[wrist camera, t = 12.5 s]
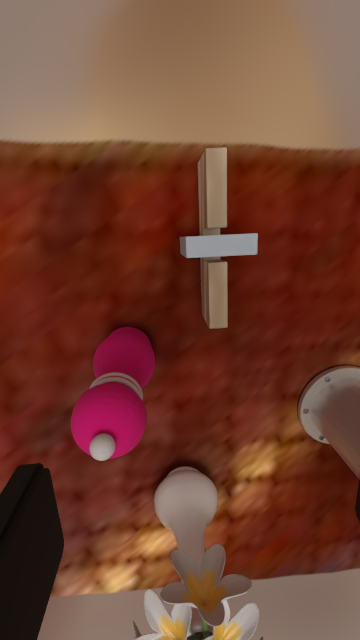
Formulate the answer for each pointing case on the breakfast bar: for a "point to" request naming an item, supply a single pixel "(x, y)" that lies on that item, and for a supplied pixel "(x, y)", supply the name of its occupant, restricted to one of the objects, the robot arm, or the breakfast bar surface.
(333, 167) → the breakfast bar surface
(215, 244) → the notched plate
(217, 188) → the beige notched bar
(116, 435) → the pepper mill
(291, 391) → the breakfast bar surface
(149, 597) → the flower vase
